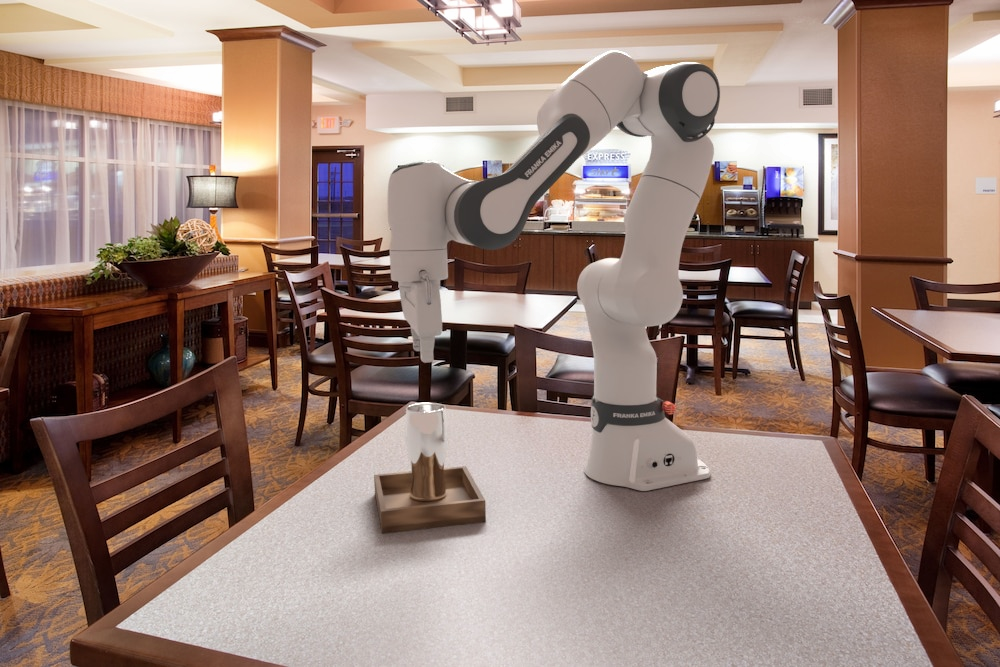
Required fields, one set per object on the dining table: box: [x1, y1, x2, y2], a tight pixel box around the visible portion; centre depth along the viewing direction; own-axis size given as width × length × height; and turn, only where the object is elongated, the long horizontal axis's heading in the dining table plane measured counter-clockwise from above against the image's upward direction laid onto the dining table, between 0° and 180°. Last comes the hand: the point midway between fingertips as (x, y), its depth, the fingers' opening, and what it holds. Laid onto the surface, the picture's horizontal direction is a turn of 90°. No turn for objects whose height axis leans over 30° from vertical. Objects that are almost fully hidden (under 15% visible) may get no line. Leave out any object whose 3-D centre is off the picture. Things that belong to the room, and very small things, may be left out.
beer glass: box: [404, 402, 449, 501], centre depth 120 cm, size 7×7×15 cm
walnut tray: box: [373, 465, 487, 534], centre depth 118 cm, size 16×16×4 cm
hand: (423, 355), depth 114 cm, fingers open, 8 cm apart
